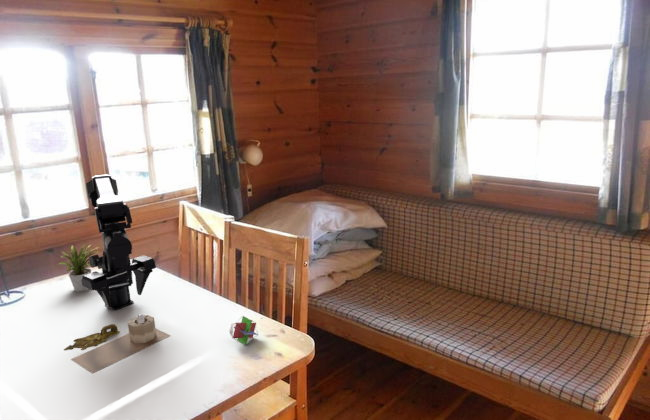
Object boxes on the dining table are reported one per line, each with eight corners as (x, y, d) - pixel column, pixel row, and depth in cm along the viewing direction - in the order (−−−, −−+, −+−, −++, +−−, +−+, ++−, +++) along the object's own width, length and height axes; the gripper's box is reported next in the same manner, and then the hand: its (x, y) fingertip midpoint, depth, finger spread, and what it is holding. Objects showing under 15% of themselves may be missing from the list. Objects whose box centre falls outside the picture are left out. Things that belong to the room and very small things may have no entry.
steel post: (144, 335, 136) (141, 312, 134) (148, 337, 135) (144, 314, 133) (138, 337, 134) (135, 314, 133) (142, 339, 133) (138, 316, 132)
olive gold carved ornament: (69, 366, 126) (127, 344, 136) (66, 351, 125) (125, 329, 134) (57, 349, 133) (114, 329, 142) (54, 334, 131) (112, 315, 141)
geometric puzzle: (253, 322, 138) (236, 307, 133) (268, 330, 134) (252, 315, 129) (237, 344, 136) (220, 330, 131) (252, 353, 131) (235, 338, 126)
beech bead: (146, 329, 139) (144, 313, 137) (160, 335, 135) (157, 319, 134) (126, 339, 134) (124, 322, 133) (139, 345, 130) (137, 328, 129)
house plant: (92, 298, 164) (85, 251, 160) (51, 299, 164) (42, 252, 160) (111, 281, 178) (104, 238, 174) (73, 282, 178) (65, 239, 174)
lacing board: (148, 328, 142) (148, 324, 142) (171, 339, 135) (171, 335, 135) (71, 363, 125) (70, 359, 125) (93, 377, 119) (92, 373, 118)
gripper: (131, 232, 143) (138, 282, 148) (66, 251, 129) (76, 306, 133) (154, 239, 137) (160, 291, 141) (88, 260, 123) (97, 317, 127)
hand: (124, 300), depth 136 cm, fingers open, 9 cm apart
